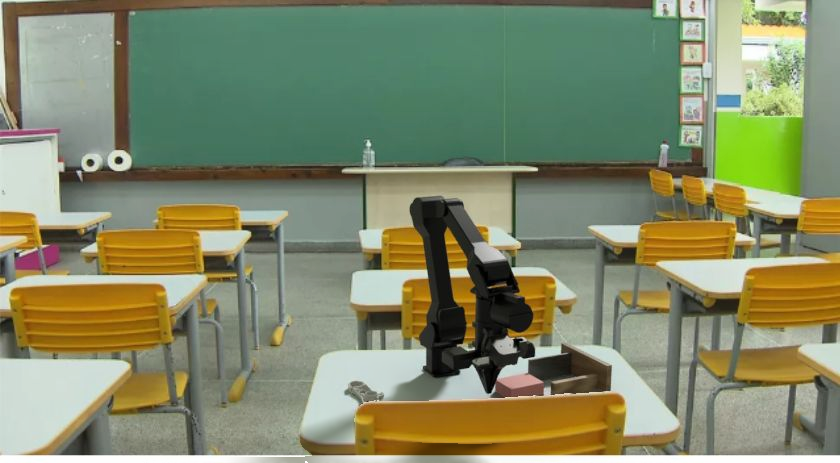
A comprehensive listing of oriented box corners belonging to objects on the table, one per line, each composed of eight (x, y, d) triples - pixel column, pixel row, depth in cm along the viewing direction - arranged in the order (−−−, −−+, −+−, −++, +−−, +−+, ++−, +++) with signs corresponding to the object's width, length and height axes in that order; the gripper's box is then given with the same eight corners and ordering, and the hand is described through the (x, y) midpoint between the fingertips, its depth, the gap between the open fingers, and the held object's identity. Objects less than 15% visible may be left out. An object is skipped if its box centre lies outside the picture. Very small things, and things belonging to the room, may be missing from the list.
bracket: (344, 409, 146) (348, 379, 160) (345, 418, 146) (348, 387, 161) (384, 408, 146) (384, 378, 161) (384, 418, 146) (384, 387, 161)
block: (510, 403, 153) (511, 389, 152) (495, 392, 158) (495, 379, 157) (543, 396, 156) (544, 382, 156) (527, 386, 161) (527, 372, 161)
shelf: (561, 402, 152) (562, 374, 151) (518, 376, 166) (519, 350, 165) (610, 392, 157) (611, 365, 156) (564, 367, 171) (565, 342, 170)
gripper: (467, 336, 140) (466, 416, 143) (552, 324, 148) (549, 399, 150) (440, 320, 150) (440, 395, 153) (521, 309, 158) (519, 380, 160)
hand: (488, 393), depth 154 cm, fingers closed
